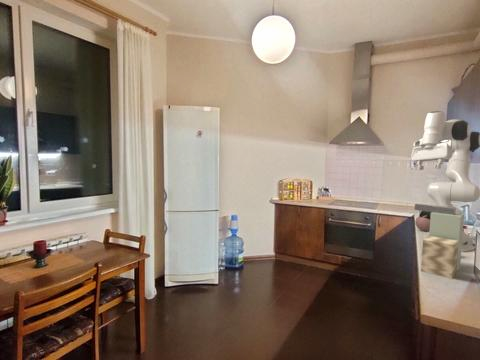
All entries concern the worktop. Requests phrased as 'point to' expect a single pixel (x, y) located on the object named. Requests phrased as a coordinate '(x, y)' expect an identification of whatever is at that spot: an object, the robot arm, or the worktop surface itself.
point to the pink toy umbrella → (423, 223)
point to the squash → (425, 214)
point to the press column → (448, 229)
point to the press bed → (439, 256)
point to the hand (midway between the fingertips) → (429, 169)
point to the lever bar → (436, 209)
